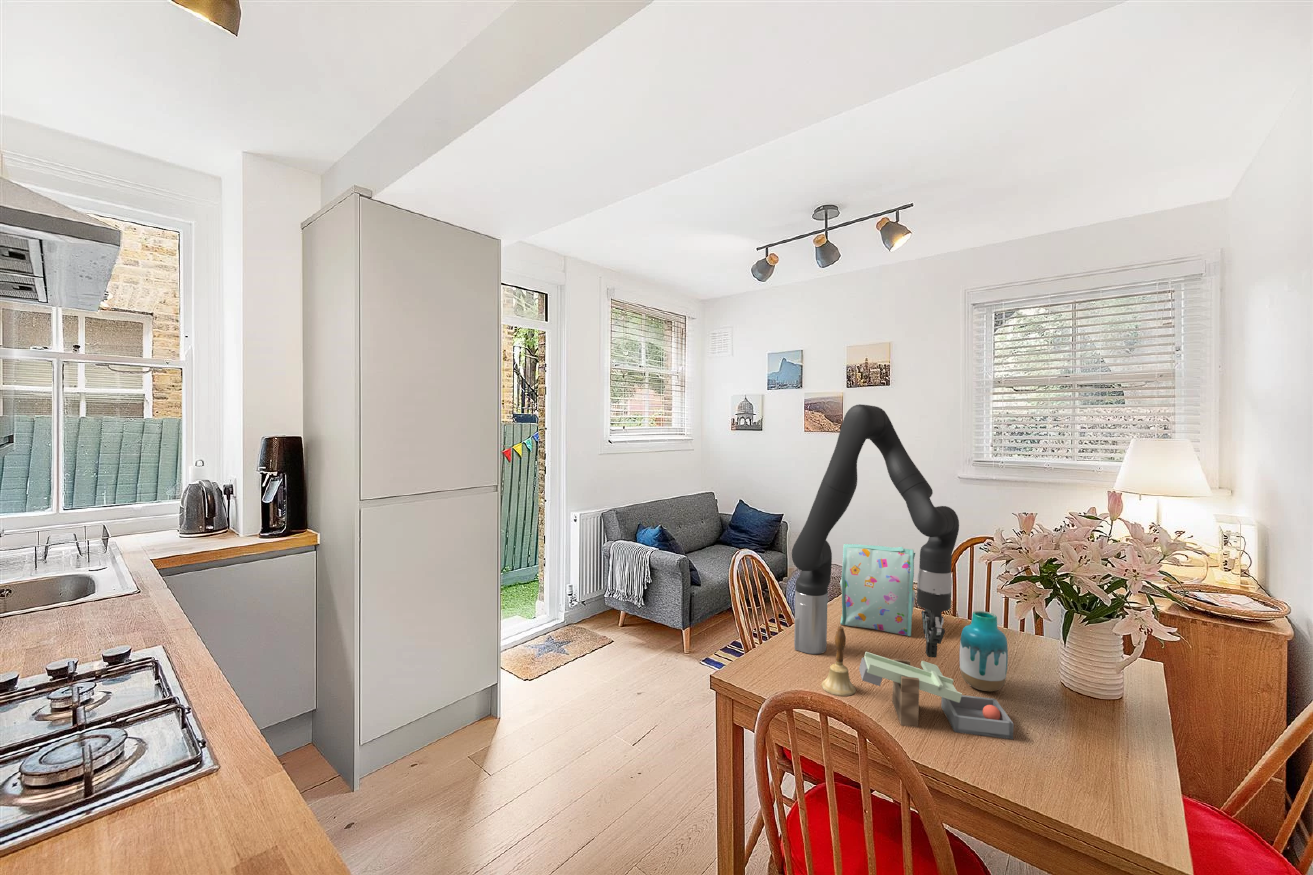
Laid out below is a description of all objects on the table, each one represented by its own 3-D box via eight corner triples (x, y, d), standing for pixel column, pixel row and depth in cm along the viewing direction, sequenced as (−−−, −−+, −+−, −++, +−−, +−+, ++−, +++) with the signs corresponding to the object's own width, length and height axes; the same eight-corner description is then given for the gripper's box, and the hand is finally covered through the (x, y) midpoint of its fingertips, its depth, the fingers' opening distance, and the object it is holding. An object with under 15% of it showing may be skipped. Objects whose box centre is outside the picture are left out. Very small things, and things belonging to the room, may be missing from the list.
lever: (862, 681, 128) (868, 661, 127) (854, 652, 143) (859, 634, 142) (956, 712, 124) (962, 691, 123) (937, 679, 139) (943, 661, 138)
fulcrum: (900, 724, 125) (902, 678, 124) (892, 701, 135) (893, 658, 134) (918, 727, 124) (919, 680, 123) (908, 703, 134) (909, 659, 134)
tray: (954, 731, 122) (954, 716, 122) (941, 706, 133) (941, 692, 132) (1012, 739, 120) (1013, 723, 119) (995, 713, 130) (995, 698, 130)
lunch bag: (913, 621, 186) (915, 542, 185) (914, 639, 171) (916, 554, 170) (842, 610, 196) (843, 535, 194) (837, 627, 181) (838, 546, 179)
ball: (986, 724, 124) (984, 709, 124) (981, 716, 127) (979, 701, 127) (1003, 725, 123) (1002, 709, 123) (997, 716, 127) (996, 701, 126)
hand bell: (857, 684, 143) (858, 623, 143) (853, 699, 136) (855, 635, 135) (824, 677, 147) (825, 618, 146) (819, 691, 139) (820, 629, 139)
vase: (990, 702, 135) (992, 625, 134) (949, 682, 144) (951, 610, 143) (1015, 692, 140) (1018, 617, 139) (974, 674, 149) (977, 604, 148)
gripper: (911, 578, 143) (909, 643, 144) (924, 594, 130) (920, 666, 131) (943, 580, 141) (940, 646, 142) (959, 597, 129) (955, 670, 130)
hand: (931, 655), depth 137 cm, fingers closed
